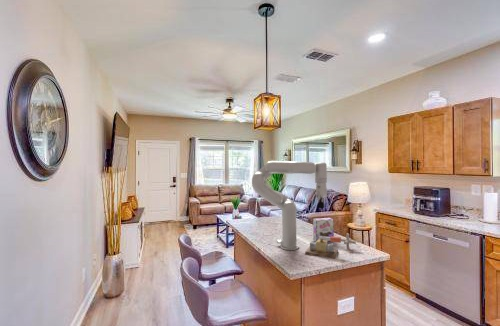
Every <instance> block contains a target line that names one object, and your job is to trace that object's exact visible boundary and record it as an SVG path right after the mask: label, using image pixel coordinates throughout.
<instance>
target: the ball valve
mask: <svg viewBox="0 0 500 326" xmlns="http://www.w3.org/2000/svg"><path fill="white" fill-rule="evenodd" d="M334 246H335V245H334V243H333V242H331V243H328V242H327V241H326V240H317V241H316V242H315V241H314V240H311V242H310V243H309V247H310V250H311V251H313V250H315V251H316V252H323V253H326V252H329V253H333V252H334V249H335V247H334Z"/></svg>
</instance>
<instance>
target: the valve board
mask: <svg viewBox="0 0 500 326" xmlns="http://www.w3.org/2000/svg"><path fill="white" fill-rule="evenodd" d="M338 253H339V249H337V248H336V249H335V248H334V252H333V253H329V252H326V253H323V252H316V251H315V250H313V251H311V250H310V246H309V247H308V248H307V249H306V250H305V251H304V254H305V255H307V256H315V257H322V258H328V259H333V260H334V259H336V258H337V255H338Z"/></svg>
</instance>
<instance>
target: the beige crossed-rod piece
mask: <svg viewBox="0 0 500 326" xmlns="http://www.w3.org/2000/svg"><path fill="white" fill-rule="evenodd" d="M345 236H346V237H345V238H341V243H342V242H343V244H344V245H345V247H346V250H350V244H357V241H356V240H352V238H351V237H350V233H346V234H345Z"/></svg>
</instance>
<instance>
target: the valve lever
mask: <svg viewBox="0 0 500 326" xmlns="http://www.w3.org/2000/svg"><path fill="white" fill-rule="evenodd" d="M341 239H342V237H341V236H340V237H339V236H334V237H332V236H331V237H325V236H319V240H328V241H330V242H331V243H338V244H341V243H342V241H341ZM330 242H329V243H330Z"/></svg>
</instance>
